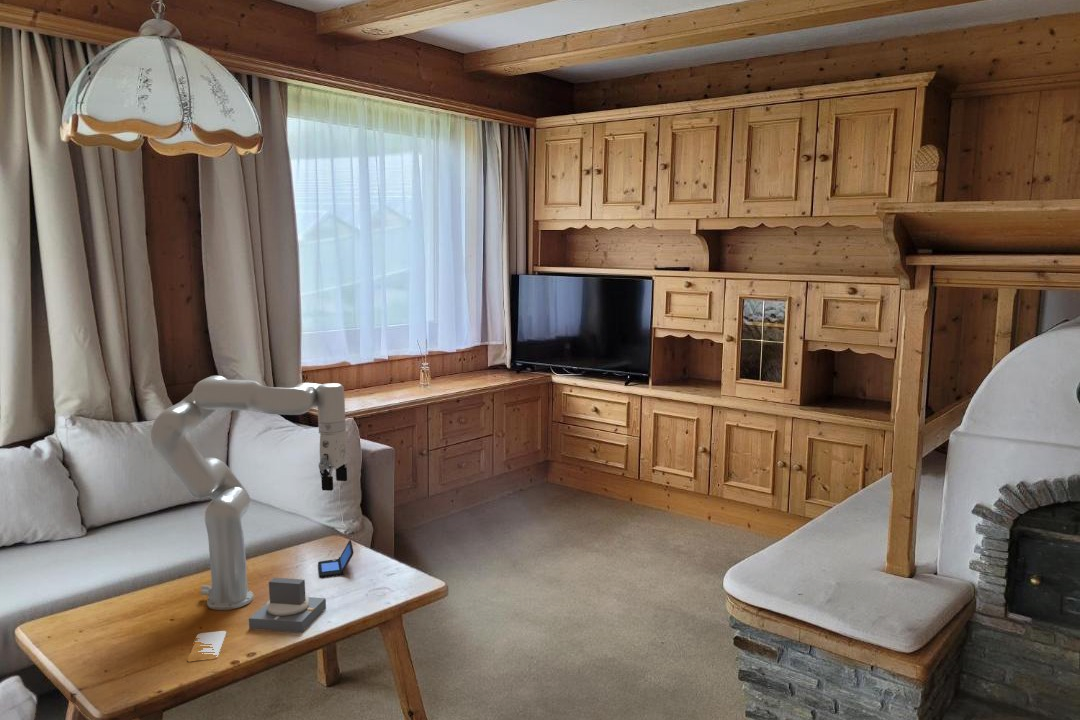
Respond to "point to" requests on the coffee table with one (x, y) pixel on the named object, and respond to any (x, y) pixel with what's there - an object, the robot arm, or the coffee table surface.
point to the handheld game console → (336, 563)
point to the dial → (287, 596)
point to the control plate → (288, 618)
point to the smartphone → (212, 641)
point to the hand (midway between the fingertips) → (334, 485)
